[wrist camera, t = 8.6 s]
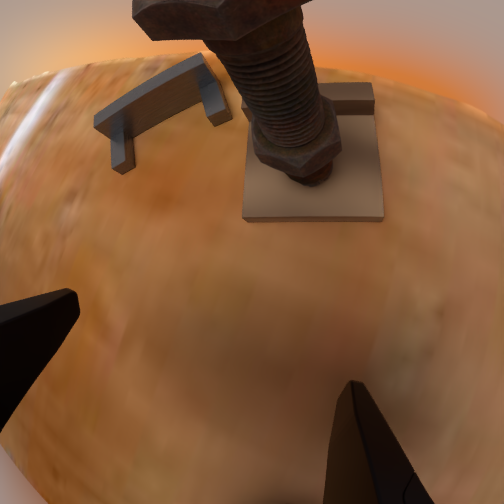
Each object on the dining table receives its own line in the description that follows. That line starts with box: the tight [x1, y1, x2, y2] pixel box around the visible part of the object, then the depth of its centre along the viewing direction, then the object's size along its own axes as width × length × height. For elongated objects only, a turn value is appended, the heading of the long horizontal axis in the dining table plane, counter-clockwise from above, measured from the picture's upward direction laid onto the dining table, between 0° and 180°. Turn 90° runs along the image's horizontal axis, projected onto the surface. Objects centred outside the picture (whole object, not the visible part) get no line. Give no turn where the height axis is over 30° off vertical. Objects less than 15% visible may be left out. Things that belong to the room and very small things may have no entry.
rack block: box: [241, 82, 384, 222], centre depth 19 cm, size 9×9×3 cm
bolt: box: [132, 0, 342, 187], centre depth 12 cm, size 6×5×15 cm
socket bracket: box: [94, 52, 232, 175], centre depth 23 cm, size 5×11×4 cm, turn 107°
